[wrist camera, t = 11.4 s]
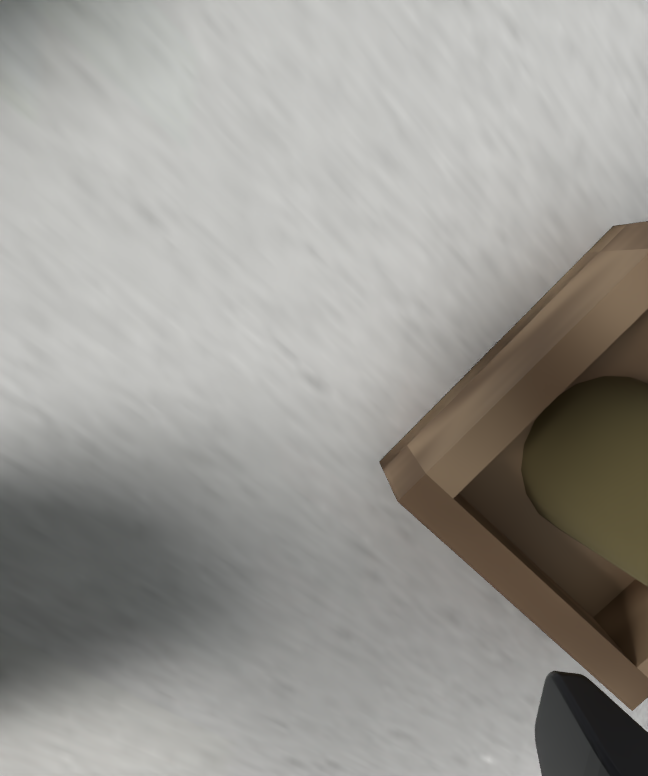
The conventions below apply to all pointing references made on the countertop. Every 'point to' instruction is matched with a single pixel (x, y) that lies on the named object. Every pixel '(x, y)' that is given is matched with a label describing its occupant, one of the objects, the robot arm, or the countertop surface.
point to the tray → (505, 452)
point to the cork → (595, 469)
